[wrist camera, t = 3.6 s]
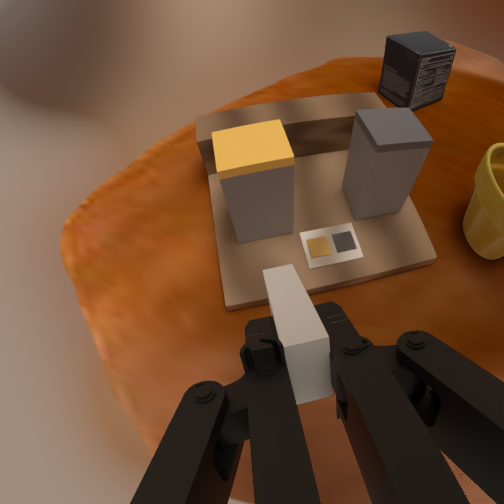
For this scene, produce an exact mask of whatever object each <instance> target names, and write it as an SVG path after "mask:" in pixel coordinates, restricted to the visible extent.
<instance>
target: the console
mask: <svg viewBox="0 0 504 504" xmlns="http://www.w3.org/2000/svg"><path fill="white" fill-rule="evenodd" d="M381 108H386V107H385V105H384V104H383V103H382V101H381V100H380V99H379V97H378V96H377V95H376V94H375V92H368V93H350V94H336V95H325V96H315V97H306V98H298V99H290V100H283V101H276V102H270V103H264V104H258V105H252V106H247V107H241V108H236V109H231V110H226V111H222V112H217V113H213V114H208V115H204V116H200V117H196V118H195V124H196V137H197V144H198V147H199V150H200V153H201V156H202V158H203V161H204V164H205V167H206V170H207V173H208V178H209V186H210V195H211V203H212V211H213V219H214V226H215V234H216V241H217V249H218V256H219V263H220V270H221V277H222V284H223V291H224V298H225V304H226V307H227V309H228V310H229V311H232V310H238V309H243V308H248V307H253V306H258V305H263V304H268V303H269V300H268V295H267V290H266V285H265V280H264V275H263V270H265V269H270V268H275V267H279V266H284V265H289V264H292V265H293V267H294V269H295V270H296V272H297V274H298V276H299V278H300V280H301V282H302V284H303V286H304V288H305V290H306V292H307V294H308V295H310V294H315V293H319V292H323V291H328V290H332V289H336V288H340V287H345V286H349V285H353V284H357V283H361V282H365V281H369V280H373V279H377V278H381V277H385V276H388V275H392V274H396V273H400V272H404V271H407V270H411V269H415V268H418V267H422V266H425V265H429V264H432V263H433V262H434V260H435V259H436V258H437V255H436V253H435V250H434V248H433V245H432V243H431V241H430V238H429V236H428V234H427V232H426V229H425V227H424V225H423V223H422V221H421V219H420V216H419V214H418V212H417V210H416V208H415V206H414V204H413V202H412V200H411V198H410V196H409V195H408V197H407V199H406V201H405V203H404V205H403V207H402V209H401V211H400V212H395V213H390V214H385V215H379V216H374V217H369V218H364V219H359V220H355V219H354V216H353V214H352V211H351V209H350V206H349V204H348V201H347V199H346V196H345V194H344V192H343V189H342V183H343V178H344V173H345V168H346V163H347V158H348V152H349V147H350V142H351V136H352V130H353V124H354V118H355V112H356V110H365V109H381ZM278 119H280V121H281V123H282V126H283V128H284V131H285V134H286V136H287V139H288V141H289V144H290V147H291V149H292V152H293V154H294V232H293V233H289V234H284V235H279V236H274V237H269V238H264V239H259V240H254V241H250V242H245V243H240V244H239V242H238V239H237V236H236V232H235V229H234V226H233V223H232V220H231V216H230V213H229V210H228V206H227V203H226V200H225V197H224V193H223V190H222V187H221V184H220V180H219V177H218V174H217V169H216V162H215V154H214V147H213V140H212V132H216V131H220V130H225V129H229V128H234V127H239V126H244V125H250V124H255V123H260V122H266V121H272V120H278Z"/></svg>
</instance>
